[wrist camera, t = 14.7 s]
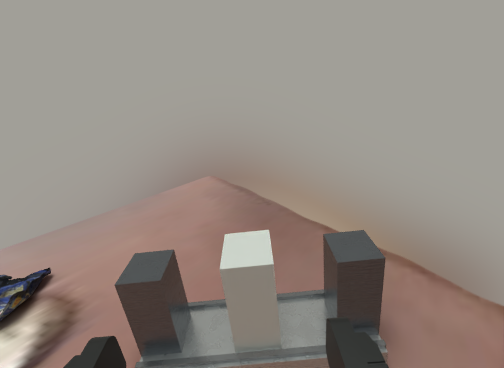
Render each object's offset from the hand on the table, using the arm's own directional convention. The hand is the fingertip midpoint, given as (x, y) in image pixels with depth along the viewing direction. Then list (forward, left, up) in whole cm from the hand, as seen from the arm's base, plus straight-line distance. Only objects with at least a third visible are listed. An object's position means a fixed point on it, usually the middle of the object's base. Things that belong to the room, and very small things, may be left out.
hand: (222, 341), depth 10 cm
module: (-5, +15, -18) cm, 24 cm away
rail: (-5, +15, -20) cm, 26 cm away
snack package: (-47, +12, -21) cm, 53 cm away
